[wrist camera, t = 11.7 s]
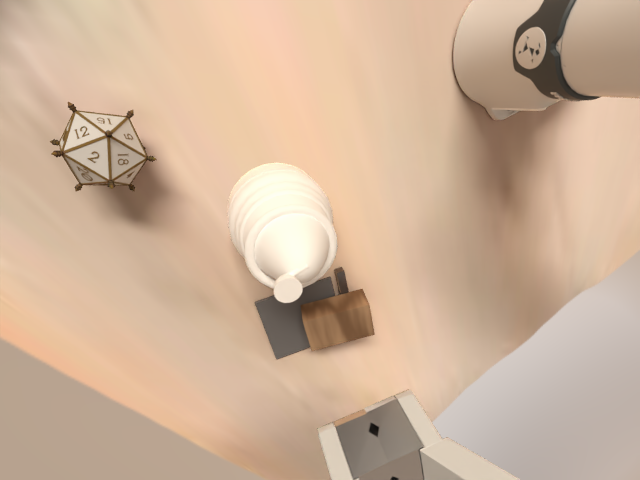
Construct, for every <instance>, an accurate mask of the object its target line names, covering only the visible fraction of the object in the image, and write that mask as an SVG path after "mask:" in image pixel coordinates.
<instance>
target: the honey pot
mask: <svg viewBox="0 0 640 480" xmlns="http://www.w3.org/2000/svg"><path fill="white" fill-rule="evenodd" d="M227 216H228V228H229V233H230V237H231V240H232V242H233V244H234V246H235V247H236V249H237V251H238V253H239V254H240V255H241V256H242V257H244V258H245V261H246V265H247V267H248V269H249V270H250V272H251V274H252V275H253V276H254V277H255V278H256V279H257V280H258V281H259V282H260V283H262V284H264V285H266V286H268V287H270V288H273V289H274V296H275V298H276V299H277V300H278V301H280V302H283V303H290V302H293V301H295V300H297V299H298V298H299V297H300V296H301V294H302V290H303V288H304V287H306V286H308V285H311V284H313V283H315V282H316V281H317V280H318V279H320V278H321V277H322V276H324V274H325V273H326V272H327V271H328V269H329V268H330V267H331V265H332V263H333V261H334V259H335V257H336V252H337V247H338V245H337V235H336V232H335V229H334V227H333V214H332V208H331V205H330V202H329V200H328V197H327V195H326V194H325V193H324V191H323V190H322V189H321V187H320V186H319V185H318V184H317V183H316V182H315V181H314V180H313V179H312V178H311V176H309V175H308V174H307V173H305V172H304V171H303V170H301V169H300V168H297V167H295V166H292V165H290V164H284V163H270V164H264V165H261V166H258V167H256V168H254V169H252V170H250V171H248V172H247V173H246V174H245V175H244V176H242V177H241V178H240V179H239V180H238V182H237V183H236V185H235V186H234V187H233V189H232V191H231V194H230V197H229V200H228V210H227ZM266 274H267V275H269V276H271V277H273V278H274V279H273V278H271V277H269V276H267V275H266Z"/></svg>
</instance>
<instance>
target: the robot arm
mask: <svg viewBox="0 0 640 480" xmlns="http://www.w3.org/2000/svg"><path fill="white" fill-rule="evenodd" d="M453 63H454V70H455V75H456V78H457V81H458V83H459V85H460V87H461V89H462V90H463V92H464V93H465V94H466V95H467V96H468V97H469V98H470V99H472V100H473V101H475V102H477V103H479V104H481V105H482V106H484V107H485V109H486V110H487V112H488V114H489V115H490V116H491V118H492V119H494V120H504V119H506V118H508V117H510V116H512V115H514V114H515V113H517V112H519V111H521V110H522V111H542V110H546V109H547V107H548V106H551V105H553V104H555V103H557V102H558V101H560V100H565V101H580V100H593V99H597V98H600V97H620V98H640V0H472V1H471V3H470V4H469V6H468V7H467V9H466V11H465V13H464V14H463V17H462V19H461V21H460V23H459V26H458V29H457V33H456V37H455V42H454V50H453ZM334 425H335V426H334ZM335 428H336V429H335ZM317 431H318V436H319V440H320V443H321V446H322V450H323V453H324V457H325V460H326V464H327V467H328V471H329V474H330V478H331V480H520V479H519V478H516V477H515V476H513V475H511V474H510V473H508V472H506V471H505V470H503V469H501V468H499V467H498V466H496V465H494V464H492V463H491V462H489V461H487V460H485V459H484V458H482V457H481V456H479V455H477V454H475V453H474V452H472V451H470V450H468V449H467V448H465V447H463V446H461V445H460V444H458V443H456V442H454V441H453V440H451V439H449V438H448V437H446V438H444V439H442V438H441V436H440V434H439V433H438V431H437V430H436V428H435V427H434V425H433V423H432V422H431V420H430V419H429V417H428V416H427V414H426V412H425V411H424V409H423V408H422V406H421V405H420V403H419V401H418V400H417V398H416V397H415V395H414V394H413V392H412V391H410V390H409V389H408V390H406V391H403V392H401V393H399V394H397V395H394V396H391V397H389V398H386V399H384V400H382V401H380V402H378V403H375V404H373V405H371V406H369V407H366V408H364V409H363V410H360V411H358V412H356V413H353V414H351V415H348V416H346V417H344V418H341V419H339V420H337V421H334V423H333V422H331V423H329V424H326V425H324V426H322V427H320V428H317ZM339 439H340V440H339ZM340 442H341V443H340Z"/></svg>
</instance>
